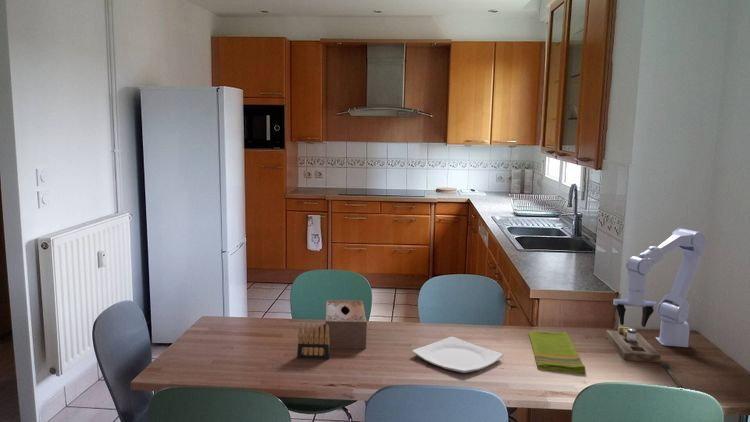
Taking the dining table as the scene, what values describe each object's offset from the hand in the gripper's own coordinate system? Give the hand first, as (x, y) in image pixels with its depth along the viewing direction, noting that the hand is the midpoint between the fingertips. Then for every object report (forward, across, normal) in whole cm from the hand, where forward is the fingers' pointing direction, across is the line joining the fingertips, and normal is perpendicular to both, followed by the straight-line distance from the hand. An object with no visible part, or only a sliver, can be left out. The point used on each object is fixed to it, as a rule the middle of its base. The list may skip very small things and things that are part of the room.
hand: (632, 325), depth 212 cm
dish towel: (+10, +29, +11) cm, 33 cm away
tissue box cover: (+9, +106, +11) cm, 107 cm away
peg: (+9, 0, 0) cm, 9 cm away
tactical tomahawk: (+9, -7, +26) cm, 29 cm away
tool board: (+9, 0, +1) cm, 9 cm away
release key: (+6, 0, -7) cm, 9 cm away
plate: (+9, +64, +25) cm, 69 cm away
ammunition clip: (+9, +112, +35) cm, 118 cm away
